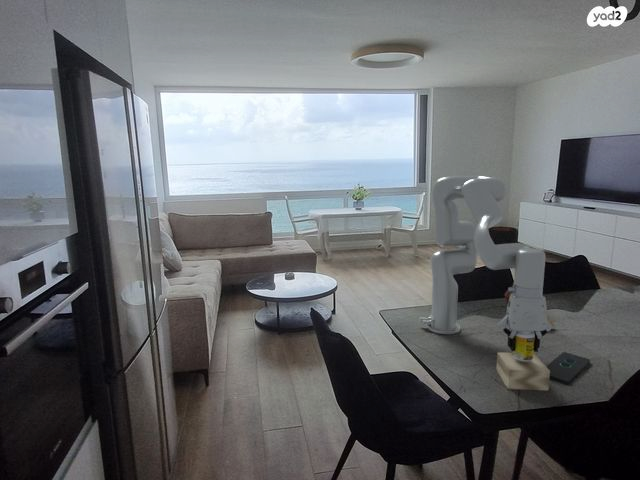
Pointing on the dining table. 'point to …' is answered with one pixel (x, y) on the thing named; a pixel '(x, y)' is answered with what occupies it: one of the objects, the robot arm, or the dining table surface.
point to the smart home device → (567, 367)
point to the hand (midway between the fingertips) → (523, 348)
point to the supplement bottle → (524, 346)
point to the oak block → (522, 372)
